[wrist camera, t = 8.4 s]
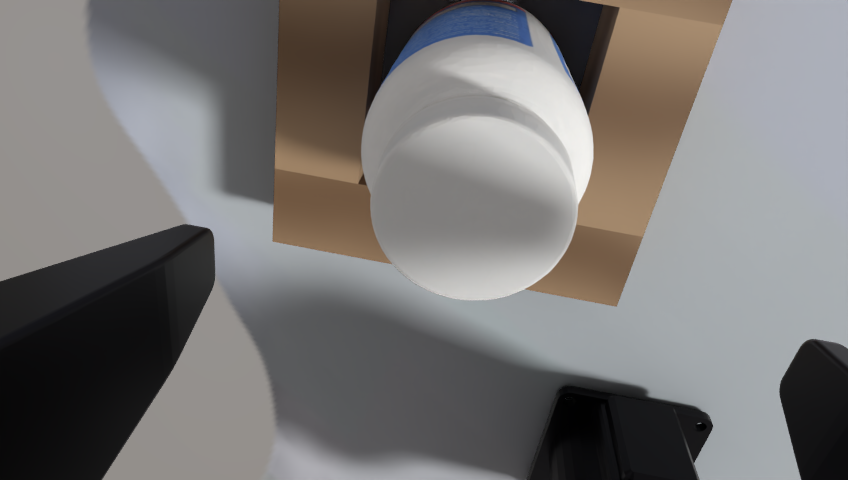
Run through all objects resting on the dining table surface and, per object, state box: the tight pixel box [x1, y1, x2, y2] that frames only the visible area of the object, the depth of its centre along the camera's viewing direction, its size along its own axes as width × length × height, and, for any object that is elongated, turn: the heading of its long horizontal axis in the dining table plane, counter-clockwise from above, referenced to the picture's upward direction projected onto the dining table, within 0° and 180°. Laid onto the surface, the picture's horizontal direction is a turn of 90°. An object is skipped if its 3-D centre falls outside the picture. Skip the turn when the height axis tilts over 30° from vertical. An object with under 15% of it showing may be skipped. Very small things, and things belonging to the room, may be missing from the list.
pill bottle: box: [361, 0, 593, 300], centre depth 16 cm, size 6×5×10 cm
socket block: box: [273, 0, 732, 307], centre depth 19 cm, size 12×12×2 cm
